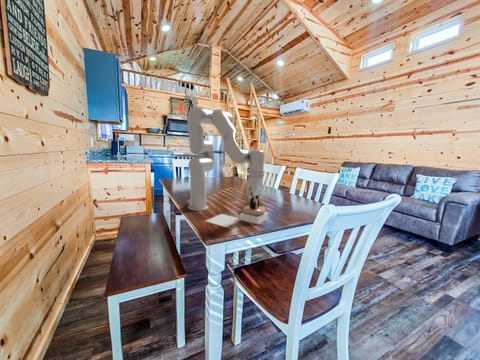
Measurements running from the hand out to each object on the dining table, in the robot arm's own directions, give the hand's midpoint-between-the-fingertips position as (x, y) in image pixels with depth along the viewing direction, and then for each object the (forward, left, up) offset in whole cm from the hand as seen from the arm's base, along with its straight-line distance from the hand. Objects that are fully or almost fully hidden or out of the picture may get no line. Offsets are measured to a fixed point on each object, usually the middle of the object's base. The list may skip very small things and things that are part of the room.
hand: (254, 207), depth 112 cm
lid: (0, 0, -1) cm, 1 cm away
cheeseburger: (-7, +14, -7) cm, 17 cm away
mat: (-12, -11, -7) cm, 18 cm away
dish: (0, 0, -7) cm, 7 cm away
